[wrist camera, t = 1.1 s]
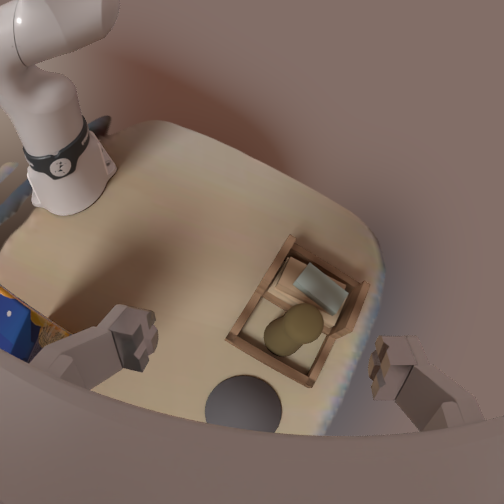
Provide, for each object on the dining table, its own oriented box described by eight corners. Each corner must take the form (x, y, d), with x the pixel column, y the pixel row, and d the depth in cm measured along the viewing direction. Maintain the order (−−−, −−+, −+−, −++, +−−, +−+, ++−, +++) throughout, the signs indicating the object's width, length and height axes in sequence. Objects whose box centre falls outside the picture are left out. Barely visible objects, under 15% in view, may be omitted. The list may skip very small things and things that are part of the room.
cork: (262, 318, 46) (282, 296, 36) (299, 318, 47) (327, 296, 37) (264, 357, 43) (286, 345, 33) (302, 355, 44) (333, 342, 34)
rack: (308, 388, 42) (327, 386, 36) (224, 340, 43) (230, 330, 37) (352, 293, 50) (372, 278, 44) (280, 249, 52) (293, 228, 46)
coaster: (191, 397, 38) (191, 397, 38) (257, 363, 42) (257, 362, 42) (229, 459, 35) (229, 460, 35) (293, 423, 39) (294, 423, 39)
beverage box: (47, 317, 38) (-33, 257, 19) (101, 351, 38) (30, 309, 19) (30, 353, 35) (-60, 313, 16) (83, 390, 35) (0, 378, 16)
